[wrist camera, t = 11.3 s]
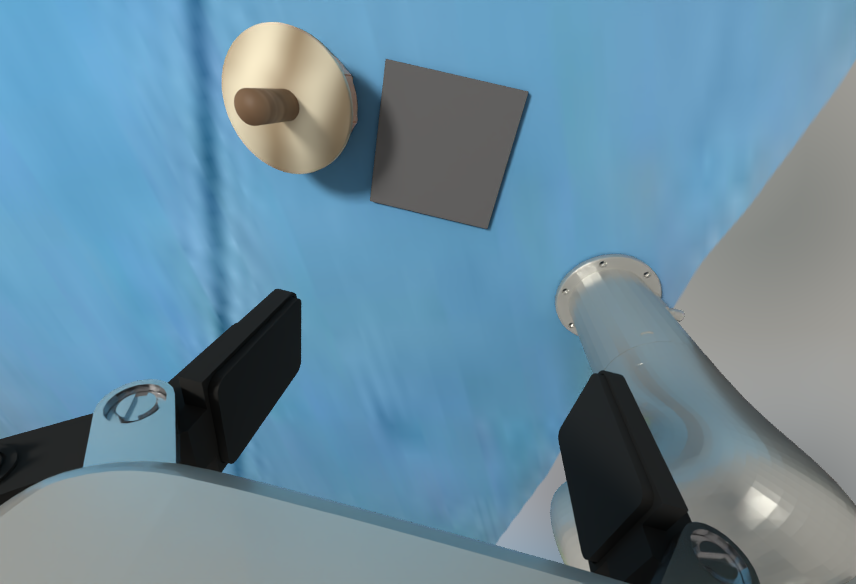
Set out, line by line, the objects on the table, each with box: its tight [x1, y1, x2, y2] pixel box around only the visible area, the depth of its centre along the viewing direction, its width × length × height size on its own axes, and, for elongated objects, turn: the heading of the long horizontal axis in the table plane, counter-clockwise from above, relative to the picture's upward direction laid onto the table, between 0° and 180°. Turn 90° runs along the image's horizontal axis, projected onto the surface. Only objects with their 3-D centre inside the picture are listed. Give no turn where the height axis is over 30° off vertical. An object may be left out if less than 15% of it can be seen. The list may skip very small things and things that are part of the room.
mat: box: [370, 59, 528, 229], centre depth 40 cm, size 15×15×1 cm
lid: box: [222, 22, 353, 174], centre depth 32 cm, size 13×13×7 cm
